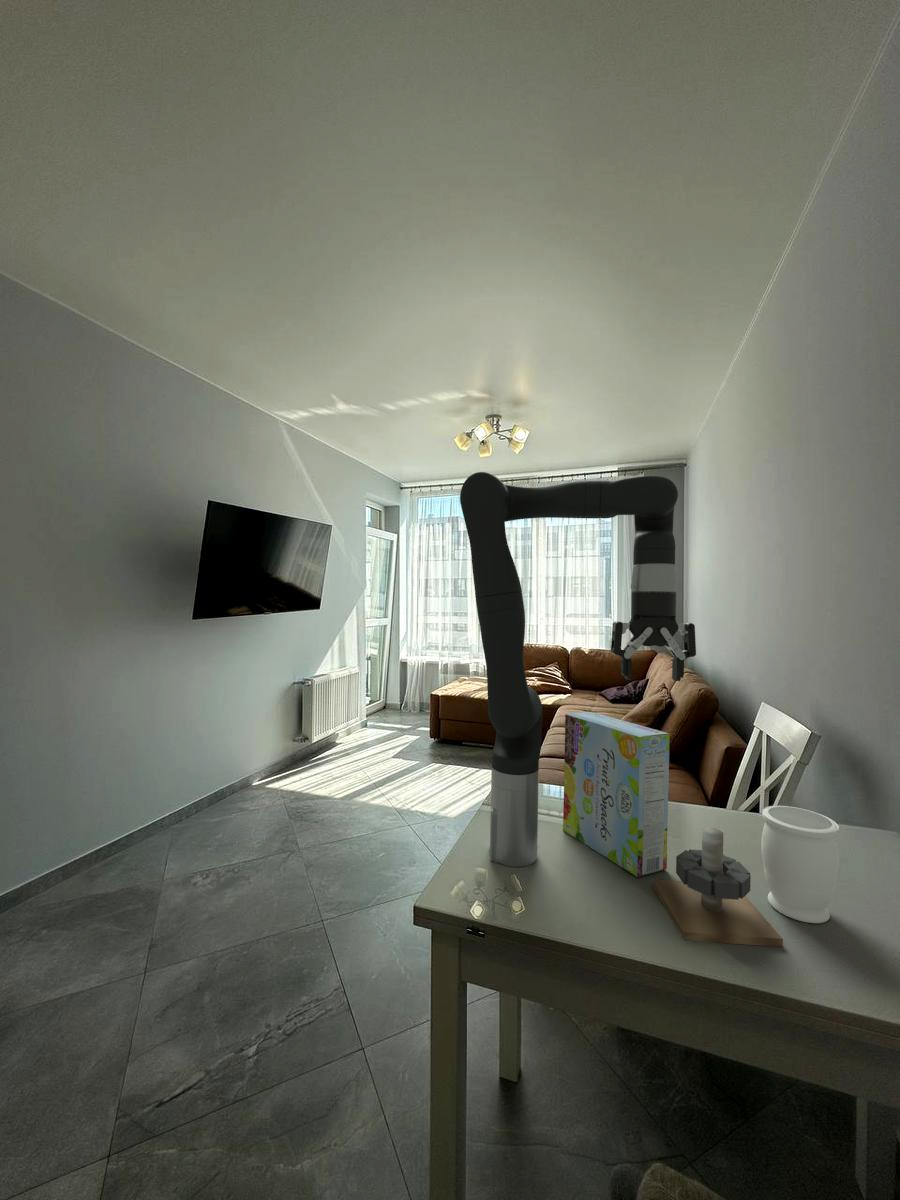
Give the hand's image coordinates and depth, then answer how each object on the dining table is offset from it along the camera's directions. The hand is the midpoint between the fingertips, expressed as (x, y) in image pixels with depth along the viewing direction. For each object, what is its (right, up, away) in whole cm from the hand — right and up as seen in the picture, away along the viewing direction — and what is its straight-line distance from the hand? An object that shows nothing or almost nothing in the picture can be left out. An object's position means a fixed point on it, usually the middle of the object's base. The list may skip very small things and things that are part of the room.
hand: (652, 679), depth 89 cm
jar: (+21, -37, -8) cm, 43 cm away
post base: (+6, -36, -10) cm, 38 cm away
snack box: (-4, -36, +11) cm, 38 cm away
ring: (+6, -31, -10) cm, 33 cm away
